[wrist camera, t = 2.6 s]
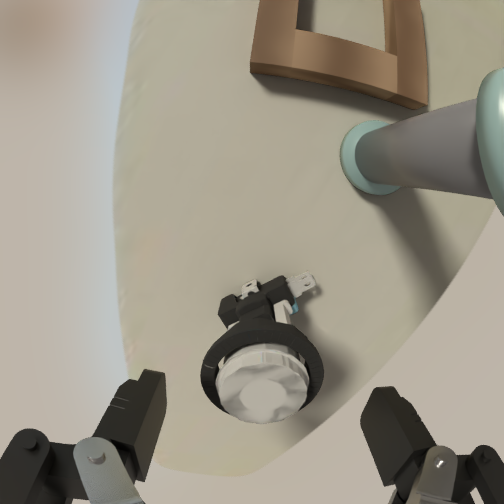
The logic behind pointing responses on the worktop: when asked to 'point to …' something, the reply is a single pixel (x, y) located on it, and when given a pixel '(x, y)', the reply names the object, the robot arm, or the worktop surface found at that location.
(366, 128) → the spool
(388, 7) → the notched board
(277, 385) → the push button
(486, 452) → the robot arm
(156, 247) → the worktop surface
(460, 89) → the worktop surface
